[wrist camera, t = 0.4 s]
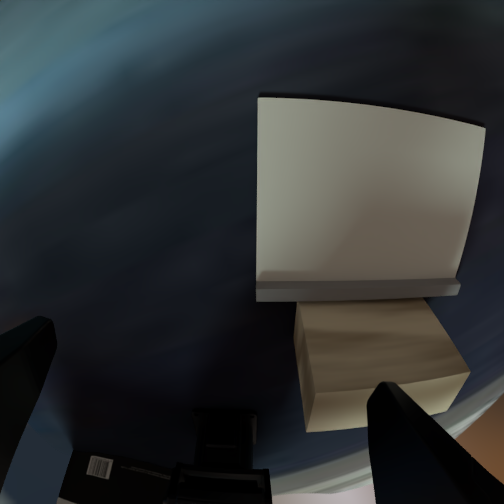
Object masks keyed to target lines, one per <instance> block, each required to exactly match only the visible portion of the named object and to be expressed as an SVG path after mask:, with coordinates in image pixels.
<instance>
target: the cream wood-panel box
mask: <svg viewBox="0 0 504 504" xmlns="http://www.w3.org/2000/svg"><path fill="white" fill-rule="evenodd" d="M293 338H294V345H295V352H296V359H297V366H298V373H299V381H300V388H301V395H302V403H303V410H304V418H305V426H306V432H317V431H329V430H340V429H349V428H357V427H365V426H368V425H367V409H366V405H367V401H368V399H369V397H370V396H371V394H372V393H373V391H374V390H375V388H376V387H377V385H378V384H379V383H380V382H382V381H392V382H395V383H396V384H397V385H398V386H399V387H400V388H401V389H402V390H403V391H404V392H406V393H407V394H408V395H409V396H410V397H411V398H412V399H413V400H414V401H415V402H416V403H417V404H418V405H419V406H420V407H421V408H422V409H423V410H424V411H425V412H426V413H427V414H429V415H432V414H436V413H440V412H444V411H447V409H448V408H449V406H450V405H451V403H452V402H453V400H454V399H455V397H456V395H457V394H458V392H459V391H460V389H461V387H462V386H463V384H464V382H465V380H466V379H467V377H468V375H469V374H470V372H471V371H470V370H469V368H468V366H467V365H466V363H465V362H464V360H463V358H462V357H461V355H460V353H459V352H458V350H457V349H456V347H455V345H454V344H453V342H452V341H451V339H450V338H449V336H448V334H447V333H446V331H445V330H444V328H443V327H442V325H441V324H440V322H439V321H438V319H437V318H436V316H435V315H434V313H433V312H432V310H431V309H430V307H429V306H428V305H427V303H426V302H425V300H424V299H423V297H417V298H397V299H374V300H344V301H297V307H296V317H295V327H294V337H293Z"/></svg>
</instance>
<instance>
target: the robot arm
mask: <svg viewBox="0 0 504 504" xmlns="http://www.w3.org/2000/svg"><path fill="white" fill-rule="evenodd" d="M56 349H57V339H56V334H55V328H54V323H53V321H52V320H51V319H48V318H46V317H43V316H37V317H35V318H33V319H31V320H29V321H27V322H25V323H23V324H21V325H19V326H17V327H15V328H13V329H11V330H9V331H7V332H5V333H3V334H1V335H0V493H1V490H2V487H3V484H4V480H5V478H6V475H7V472H8V469H9V467H10V464H11V462H12V459H13V456H14V454H15V451H16V449H17V446H18V443H19V441H20V439H21V436H22V434H23V432H24V429H25V427H26V425H27V422H28V420H29V418H30V416H31V413H32V411H33V409H34V407H35V405H36V402H37V400H38V398H39V396H40V393H41V390H42V388H43V385H44V382H45V379H46V376H47V373H48V371H49V368H50V365H51V362H52V360H53V357H54V354H55V352H56ZM366 409H367V425H368V445H369V455H370V463H371V469H372V477H373V484H374V490H375V491H374V492H375V500H376V504H504V484H502V483H501V482H500V481H499V480H497V479H496V478H495V477H494V476H493V475H492V474H490V473H489V472H488V471H487V470H486V469H485V468H484V467H483V466H482V465H480V464H479V463H478V462H477V461H476V460H475V459H474V458H473V457H471V455H470V454H469V453H468V452H467V451H466V450H465V449H464V448H463V447H462V446H460V444H459V443H458V442H457V441H456V440H455V439H453V438H452V437H451V436H450V435H449V434H448V433H447V432H446V431H445V430H444V429H443V428H442V427H441V426H440V425H439V424H438V423H437V422H436V421H435V420H434V419H433V418H432V417H431V416H430V415H429V414H427V413H426V412H425V411H424V410H423V409H422V408H421V407H420V406H419V405H418V404H417V403H416V402H415V401H414V400H413V399H412V398H411V397H410V396H409V395H408V394H407V393H406V392H404V391H403V390H402V389H401V388H400V387H399V386H398V385H397V384H396V383H395V382H392V381H382V382H380V383H379V384H378V385H377V387H376V388H375V390H374V391H373V393H372V394H371V396H370V397H369V399H368V401H367V405H366ZM192 419H193V423H194V427H195V431H196V435H197V442H196V449H195V457H194V465H190V464H183V463H180V462H177V465H176V468H173V469H172V472H171V478H170V483H169V486H168V488H167V491H166V493H165V496H164V498H163V504H272V494H271V485H270V475H269V469H253V444H256V432H257V413H256V412H255V411H226V410H203V409H194V410H192Z"/></svg>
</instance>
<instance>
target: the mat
mask: <svg viewBox="0 0 504 504" xmlns="http://www.w3.org/2000/svg"><path fill="white" fill-rule="evenodd" d="M485 129H486V128H483V127H479V126H475V125H472V124H468V123H464V122H459V121H455V120H451V119H446V118H442V117H437V116H432V115H427V114H422V113H417V112H411V111H405V110H399V109H393V108H386V107H379V106H372V105H364V104H355V103H346V102H336V101H324V100H310V99H291V98H258V148H257V255H256V302H288V301H344V300H374V299H397V298H417V297H434V296H449V295H457V294H458V291H459V288H460V285H461V284H460V283H459V282H458V280H457V279H456V278H455V276H456V273H457V270H458V266H459V263H460V260H461V256H462V253H463V249H464V245H465V241H466V237H467V234H468V229H469V225H470V221H471V217H472V212H473V207H474V203H475V198H476V192H477V187H478V181H479V175H480V169H481V162H482V155H483V148H484V139H485Z"/></svg>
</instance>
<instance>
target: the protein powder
mask: <svg viewBox="0 0 504 504" xmlns="http://www.w3.org/2000/svg"><path fill="white" fill-rule="evenodd" d="M171 472H172V469H168V468H164V467H161V466H157V465H154V464H150V463H147V462H142V461H138V460H133V459H129V458H125V457H120V456H114V455H108V454H102V453H97V452H77V451H75V450H73V452H72V455H71V458H70V461H69V464H68V467H67V470H66V474H65V477H64V480H63V483H62V487H61V490H60V493H59V497H58V500H57V503H56V504H163V498H164V496H165V493H166V491H167V488H168V486H169V483H170V478H171Z"/></svg>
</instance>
